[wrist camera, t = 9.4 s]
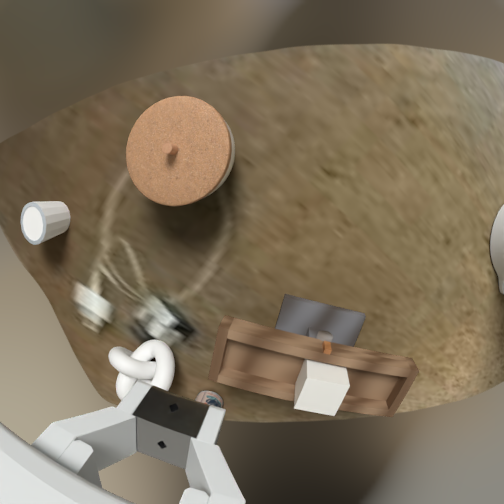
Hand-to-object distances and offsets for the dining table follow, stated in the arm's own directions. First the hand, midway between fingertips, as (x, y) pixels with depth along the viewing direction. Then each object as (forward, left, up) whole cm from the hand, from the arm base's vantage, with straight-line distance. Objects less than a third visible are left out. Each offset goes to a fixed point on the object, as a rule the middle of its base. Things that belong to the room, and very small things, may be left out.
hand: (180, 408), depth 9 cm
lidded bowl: (+12, -8, -34) cm, 37 cm away
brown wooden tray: (-10, +14, -34) cm, 38 cm away
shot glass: (+36, +6, -34) cm, 50 cm away
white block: (-11, +14, -25) cm, 31 cm away
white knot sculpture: (+14, +27, -34) cm, 46 cm away
